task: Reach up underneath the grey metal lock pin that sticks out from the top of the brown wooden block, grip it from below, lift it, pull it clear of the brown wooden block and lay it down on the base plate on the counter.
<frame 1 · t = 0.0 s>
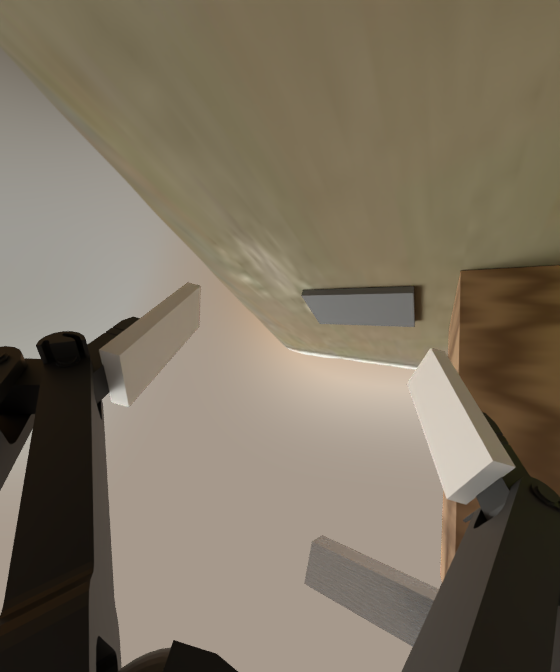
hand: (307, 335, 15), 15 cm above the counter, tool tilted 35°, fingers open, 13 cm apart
brown wooden block: (504, 305, 31), on the counter
lock pin: (473, 612, 22), point 30 cm above the counter, touching brown wooden block
base plate: (358, 305, 39), on the counter
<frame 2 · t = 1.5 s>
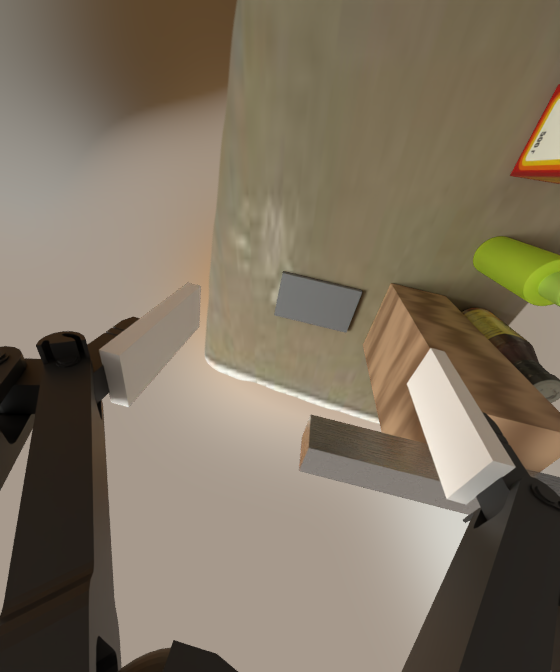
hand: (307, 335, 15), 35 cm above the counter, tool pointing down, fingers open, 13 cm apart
baking soda box: (556, 137, 34), on the counter
sauce bottle: (469, 319, 48), on the counter
brown wooden block: (400, 322, 51), on the counter
lock pin: (445, 461, 25), point 30 cm above the counter, touching brown wooden block
soap dispenser: (491, 258, 43), on the counter
base plate: (316, 302, 51), on the counter
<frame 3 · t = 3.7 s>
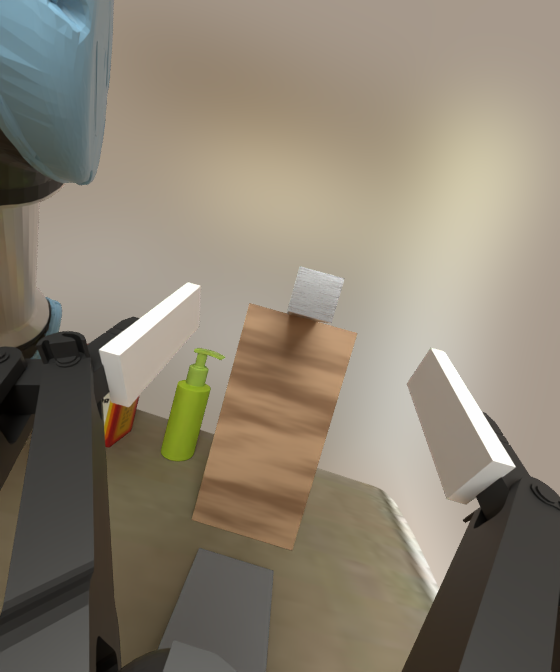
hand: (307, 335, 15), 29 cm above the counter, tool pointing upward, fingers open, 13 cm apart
baking soda box: (95, 432, 48), on the counter
brown wooden block: (247, 508, 40), on the counter
lock pin: (302, 318, 34), point 30 cm above the counter, touching brown wooden block
soap dispenser: (179, 453, 49), on the counter
base plate: (214, 648, 23), on the counter
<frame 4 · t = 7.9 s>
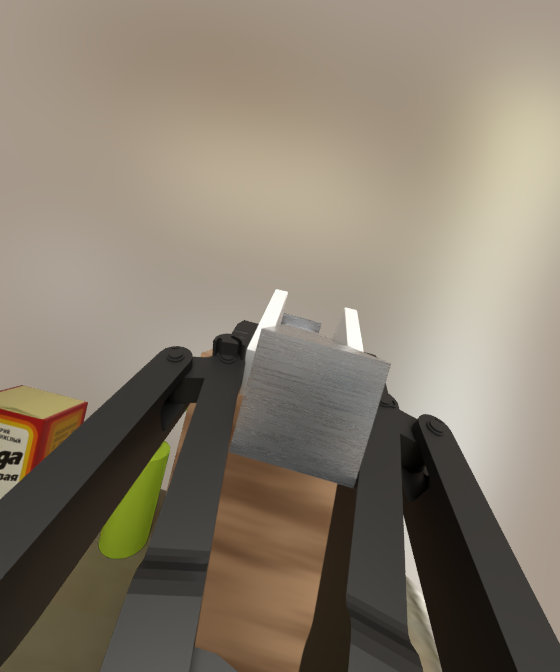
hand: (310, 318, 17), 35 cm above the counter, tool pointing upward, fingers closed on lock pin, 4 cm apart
baking soda box: (9, 514, 34), on the counter
brown wooden block: (213, 652, 26), on the counter
lock pin: (291, 372, 21), point 30 cm above the counter, touching gripper
soap dispenser: (127, 540, 35), on the counter
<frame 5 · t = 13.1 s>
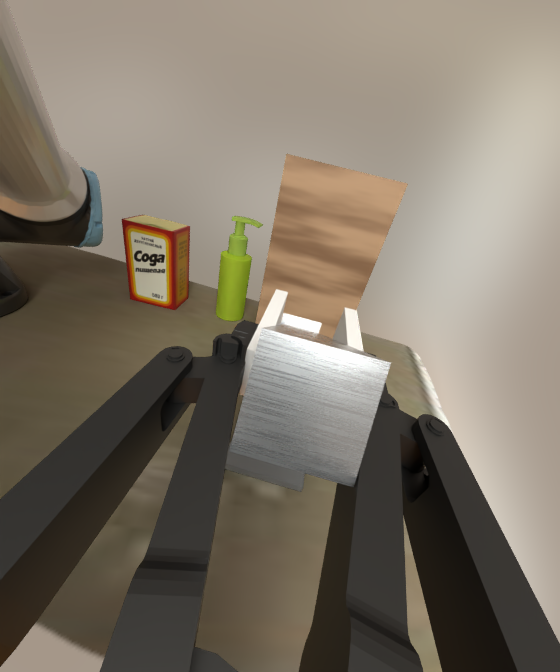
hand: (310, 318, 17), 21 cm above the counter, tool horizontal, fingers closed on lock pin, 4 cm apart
baking soda box: (160, 299, 57), on the counter
brown wooden block: (291, 354, 49), on the counter
lock pin: (291, 372, 21), point 15 cm above the counter, tilted 28°, touching gripper
soap dispenser: (231, 315, 57), on the counter
base plate: (274, 425, 35), on the counter
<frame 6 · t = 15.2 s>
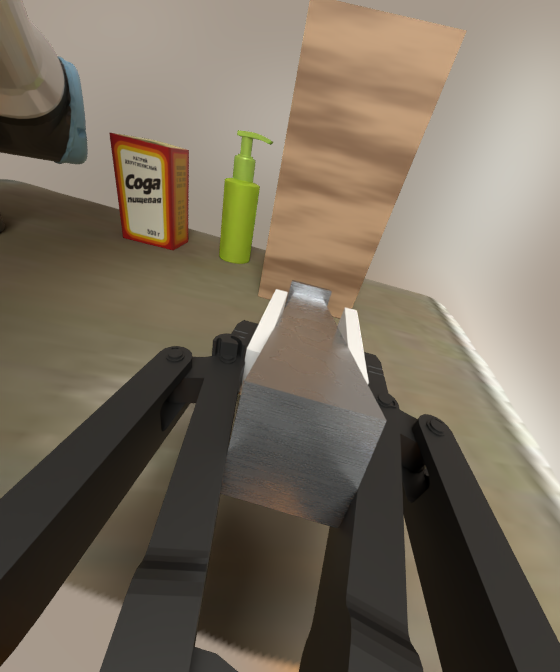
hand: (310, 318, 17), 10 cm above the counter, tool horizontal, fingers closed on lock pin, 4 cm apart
baking soda box: (157, 240, 51), on the counter
brown wooden block: (305, 295, 44), on the counter
lock pin: (297, 354, 21), point 5 cm above the counter, tilted 18°, touching gripper
soap dispenser: (236, 259, 51), on the counter
when the fingers open (6 cm above the counter, at t = 16.2 s): lock pin drops 2 cm, resting on base plate.
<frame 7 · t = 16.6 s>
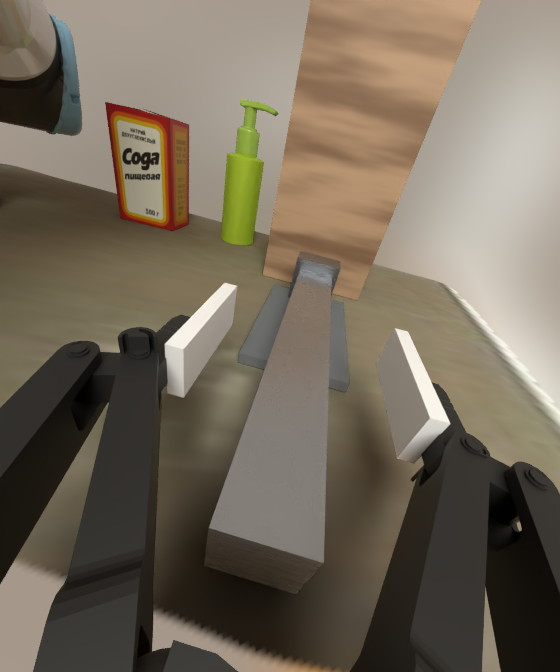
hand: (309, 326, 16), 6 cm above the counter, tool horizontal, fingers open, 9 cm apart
baking soda box: (156, 222, 48), on the counter
brown wooden block: (312, 275, 41), on the counter
lock pin: (295, 358, 21), point 1 cm above the counter, touching base plate
soap dispenser: (239, 242, 49), on the counter
base plate: (300, 330, 27), on the counter
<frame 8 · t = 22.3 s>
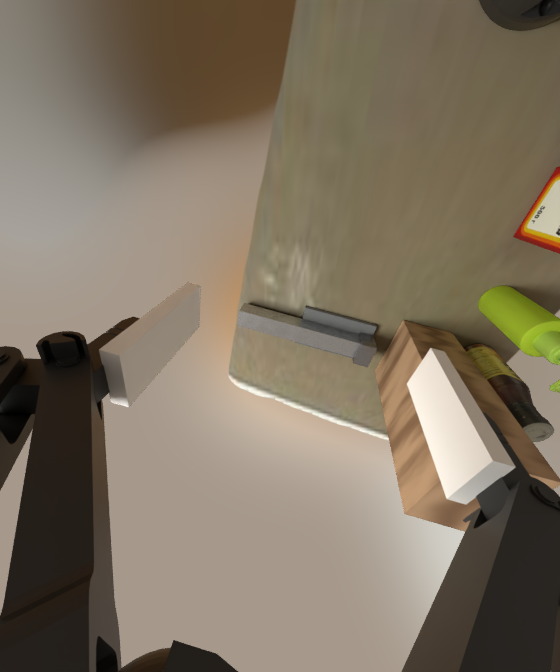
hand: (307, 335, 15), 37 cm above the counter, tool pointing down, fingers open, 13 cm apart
baking soda box: (555, 208, 39), on the counter
sauce bottle: (473, 353, 53), on the counter
brown wooden block: (410, 353, 56), on the counter
lock pin: (305, 327, 56), point 1 cm above the counter, touching base plate
soap dispenser: (494, 303, 48), on the counter
base plate: (334, 332, 56), on the counter
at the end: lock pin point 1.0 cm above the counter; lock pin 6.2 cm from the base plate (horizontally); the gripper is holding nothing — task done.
